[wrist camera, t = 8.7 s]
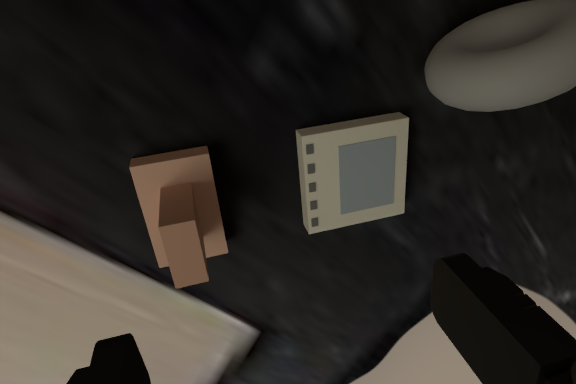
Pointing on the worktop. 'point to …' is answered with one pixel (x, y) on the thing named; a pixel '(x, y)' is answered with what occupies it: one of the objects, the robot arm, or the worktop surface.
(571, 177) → the worktop surface
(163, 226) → the stub
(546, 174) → the worktop surface
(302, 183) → the control panel
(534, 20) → the donut
